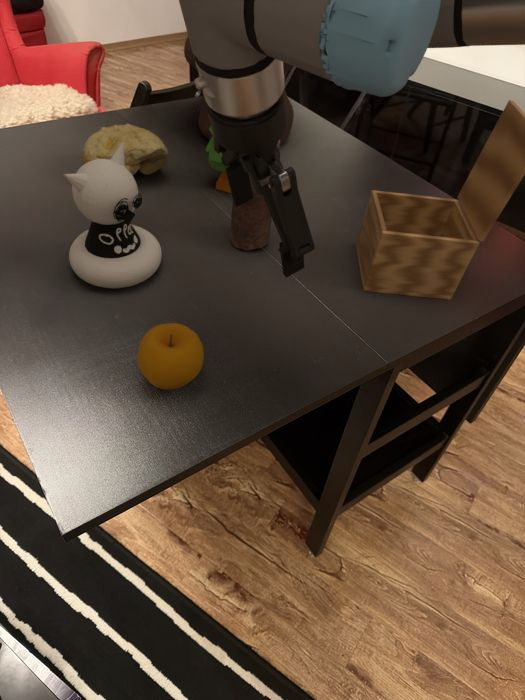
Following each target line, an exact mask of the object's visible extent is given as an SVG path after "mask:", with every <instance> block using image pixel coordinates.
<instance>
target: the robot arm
mask: <svg viewBox="0 0 525 700" xmlns="http://www.w3.org/2000/svg"><path fill="white" fill-rule="evenodd" d="M178 2H179V7H180V10H181V14H182V18H183V23H184V25H185V29H186V33H187V36H188V37H189V41H190V45H191V48H192V52H193V56H194V59H195V62H196V66H197V69H198V71H197V72H198V76H197V77H196V78H195V79H194V82H193V83H194V85H195V88H196V89H197V90H198V91H202V95H203V94H204V97H205V101H206V108H207V112H208V116H209V120H210V124H211V128H212V132H213V135H214V150H215V151H216V152H217V153H220V152H221V153H222V157H221V161H222V163H223V164H224V165H225V166H227V168H226V173H227V177H228V181H229V186H230V190H231V193H230V194H231V197H232V201H233V202H234V204H235V206H236V207H238V206H240V205H242V204H243V203H245V202H247V201H249V200H251V199H253V193H252V188H251V183H250V179H251V181H252V184H253V186H254V188H255V191H256V193H257V194H259V195H262V196H263V198H264V200H265V203H266V205H267V207H268V210H269V212H270V214H271V217H272V222H273V224H274V226H275V228H276V231H277V233H278V236H279V238H280V240H281V241H280V242H278V243H279V244H278V246H279V248H278V252H279V254H280V260H281V268H282V274H283V275H284V277H285V278H286V279H287V278H289V277H291V276H292V275H294V274H296V273H297V272H300V271H302V270H303V269H305V255H307V254H309V253H311V252H312V251H314V250H315V249H316V246H315V242H314V239H313V236H312V233H311V228H310V226H309V222H308V219H307V215H306V211H305V208H304V206H303V205H304V204H303V202H302V198H301V195H300V192H299V188H298V187H299V185H298V180H297V173H296V170H295V169H294V168H293V167H292V166H289V167H287V168H285V169H284V166H283V164H282V161H281V152H280V149H279V150H278V147H277V143H278V142H279V140H280V138H281V136H282V135H283V133H284V131H285V129H286V125H287V112H286V99H285V92H286V90H285V91H284V87H285V88H286V85H284V70H283V62H285V63H287V64H290V65H292V67H294V68H297V69H300V70H303V71H304V72H307V73H310V74H313V75H315V76H317V77H320V78H323V79H325V80H328V81H330V82H332V83H334V84H335V86H338V87H342V88H343V89H345V90H348V91H356V92H357V91H358V92H361V93H365V94H369V95H373V96H376V97H383V98H384V97H386V98H387V97H391V96H393V95H395V94H397V93H398V92H399V91H401V90H402V89H404V87H405V86H406V85H407V83H408V81H409V79H410V77H412V76H413V75H414V74H415V73H416V71H417V70H418V68H419V66H420V64H421V63H422V60H423V59H424V57H425V54H426V53H427V50H428V49H447V48H450V49H453V48H463V47H464V48H465V47H466V48H467V47H480V46H483V47H484V46H487V47H488V46H525V0H178ZM239 159H240V162H239ZM249 176H250V178H249ZM269 176H272V177H270V178H269V183H267V184H265V185H263V186H262V185H261V183H260V181H261V180H264V179H266V178H268V177H269Z"/></svg>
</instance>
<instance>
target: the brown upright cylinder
mask: <svg viewBox="0 0 525 700" xmlns="http://www.w3.org/2000/svg"><path fill="white" fill-rule="evenodd" d="M280 146H281V145H280V140H279V142H278V143H277V147H278V150H279V151H280ZM239 162H240V159H239ZM270 177H272V176H269V177H268V178H266V179H264V180H261V181H260V183H261V185H262V186H263V185H265V184H267V183H269V178H270ZM249 178H250V176H249ZM250 183H251V188H252V193H253V199H251V200H249V201H247V202H245V203H243V204H242V205H240V206H238V207H236V206H235V204H234V202H233V200H232V202H231V215H230V216H231V217H230V235H229V237H230V240H231V245H232V246H233V247H235V248H236V249H239V250H243V251H252V250H256V249H257V250H258V249H262V248H263V247H265V246H266V245H267V244H268V243H269V240H270V235H271V228H272V227H271V226H272V221H273V219H272V217H271V214H270V212H269V210H268V207H267V205H266V203H265V200H264V198H263V196H262V195H259V194H257V193H256V191H255V188H254V186H253V184H252V181H251V179H250Z"/></svg>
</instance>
